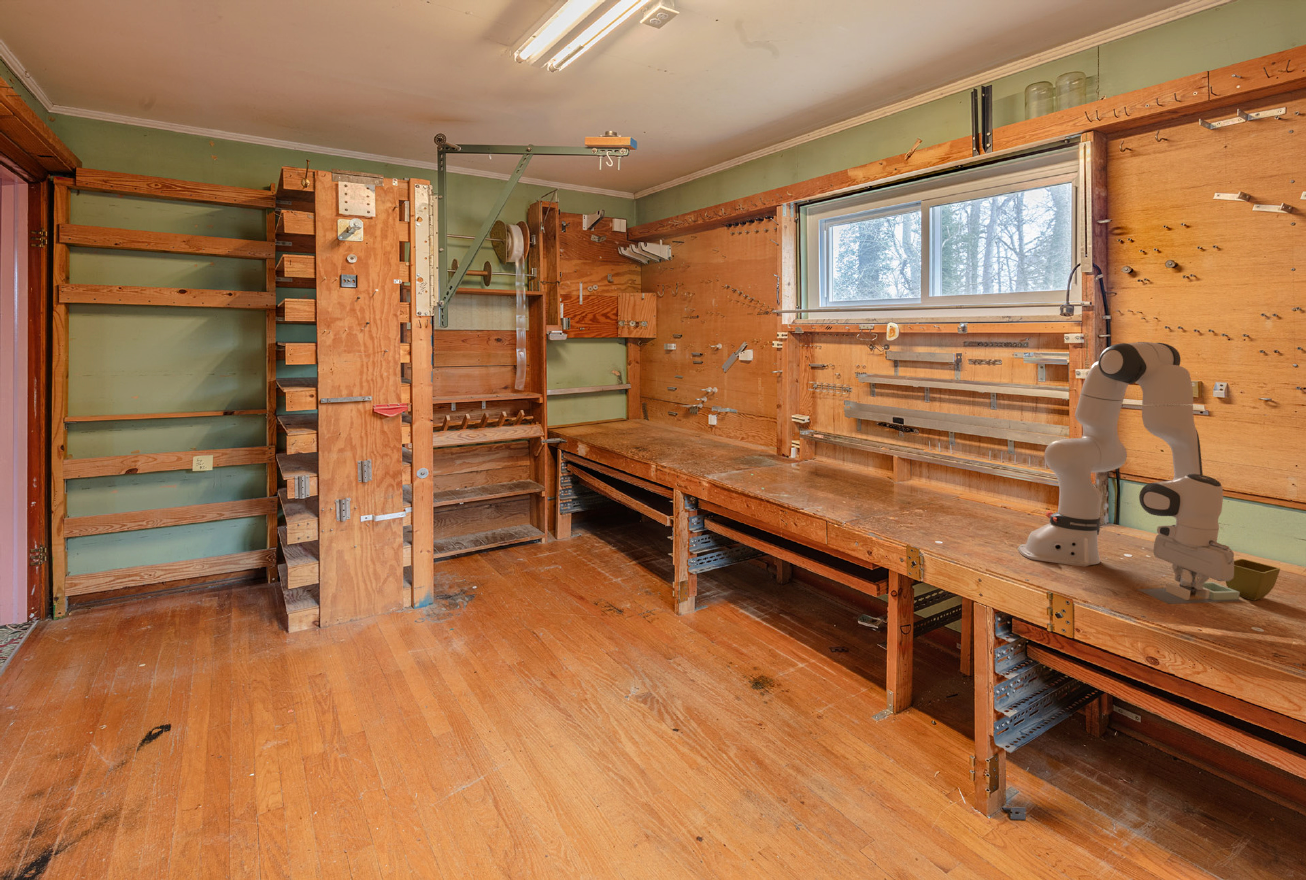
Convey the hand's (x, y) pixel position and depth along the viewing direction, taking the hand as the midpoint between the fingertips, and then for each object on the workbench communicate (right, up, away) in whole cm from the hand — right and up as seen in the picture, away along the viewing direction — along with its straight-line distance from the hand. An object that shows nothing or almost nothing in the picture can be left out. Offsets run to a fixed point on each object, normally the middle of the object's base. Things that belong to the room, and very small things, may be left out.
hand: (1188, 585), depth 175 cm
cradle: (0, -4, +1) cm, 4 cm away
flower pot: (+18, -4, +3) cm, 19 cm away
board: (+1, -4, +1) cm, 4 cm away
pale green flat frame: (+8, -4, +1) cm, 9 cm away
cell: (0, -3, 0) cm, 2 cm away
